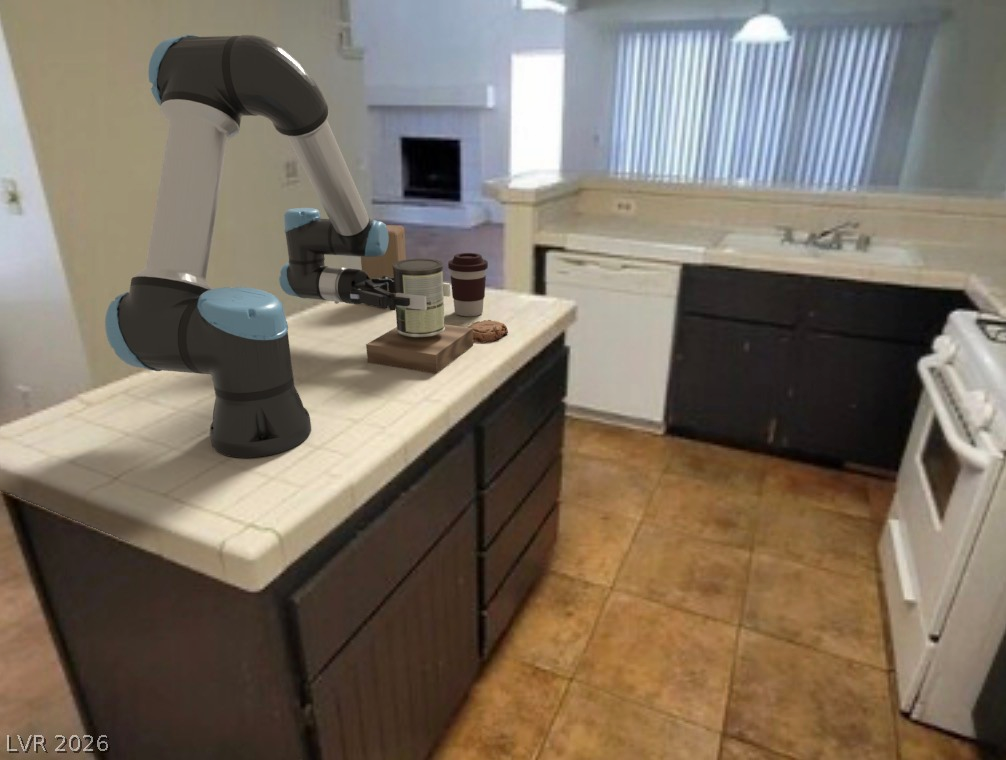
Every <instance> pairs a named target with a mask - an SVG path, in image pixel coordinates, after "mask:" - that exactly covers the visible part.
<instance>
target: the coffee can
mask: <svg viewBox="0 0 1006 760" xmlns="http://www.w3.org/2000/svg"><path fill="white" fill-rule="evenodd" d="M392 267H393V273H394V288H395V297H396V293H405V294H413V295H422V296H426V302H427V309H426V310H420V309H412V308H404V307H396V306H395V317H396V318H395V319H396V327H397V332H398V333H399V334H401V335H404V336H409V337H428V336H434V335H437V334H440V333H442V332H443V331H444V330H445V325H446V324H445V300H444V299H445V298H444V297H445V296H444V292H443V283H444V262H442V261H441V260H438V259H432V258H408V259H407V258H406V260H401V261H398V262H395V263H394V264H393V265H392ZM444 324H445V325H444Z"/></svg>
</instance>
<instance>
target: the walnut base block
mask: <svg viewBox="0 0 1006 760" xmlns="http://www.w3.org/2000/svg"><path fill="white" fill-rule="evenodd" d="M444 325H445V330H444V331H443V332H442V333H440V334H437V335H434V336H428V337H409V336H404V335H401V334H399V333H398V332H397V326H396V327H394V328H392V329H391V330H389V331H387V332H385V333H384V334H382V335H380V336H378V337H376V338H375V339H373V340H370V341H369V342H368V343H366V344H365V348H366V359H367V363H370V364H373V365H374V364H375V365H380V366H381V365H382V366H386V367H387V366H388V367H392V368H393V367H394V368H400V369H406V370H412V371H417V372H418V371H419V372H425V373H431V374H438V373H439V372H441V371H442V370H443V369H444V368H446V367H447V366H448V365H450V364H451V363H452V362H454V361H455V360H456V359H457V358H458V357H460V356H461V355H462V354H464V353H465V352H466V351H468V350H469V349H471V348H472V347H473V346H474V340H473V328H467V327H468V326H467V327H465V326H459V325H451V324H445V323H444Z"/></svg>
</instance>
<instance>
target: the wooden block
mask: <svg viewBox="0 0 1006 760" xmlns="http://www.w3.org/2000/svg"><path fill="white" fill-rule="evenodd" d="M385 225H386V227H387V230H388V236H389V240H388V247H387V250H386V252H385V254H384V255H383V256H380V257H360V264H361V270H363V271H365V272H366V273H367V275H368V277H369V278H370V279H371V278H380V279H382V276H390V277H394V273H393V267H392V265H393V264H394V263H395V262H398V261H401V260H407V253H406V252H407V250H406V248H407V247H406V234H405V233H406V231H405V227H404V226H403V225H399V224H398V225H397V224H395V225H394V224H389V225H388V224H385ZM387 291H389V288H388V289H387ZM393 294H394V296H395V293H393ZM364 305H366V304H364ZM366 306H367V305H366ZM368 306H370V305H368ZM395 307H396V305H395Z"/></svg>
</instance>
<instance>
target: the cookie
mask: <svg viewBox="0 0 1006 760" xmlns="http://www.w3.org/2000/svg"><path fill="white" fill-rule="evenodd" d="M467 328H473V342H474V341H475V342H476V343H477V342H481V343H485V342H486V343H487V342H488V343H489V342H490V343H491V342H495V341H496V340H499V339H501V338H502V337H503V336H504V335H507V334H509V330H508V327H507V325H506V324H505V323H503V322H500V321H497V320H491V319H487V320H486V319H485V320H481V321H478V320H477V321H475V322H472V324H470V325H469V326H467Z"/></svg>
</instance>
